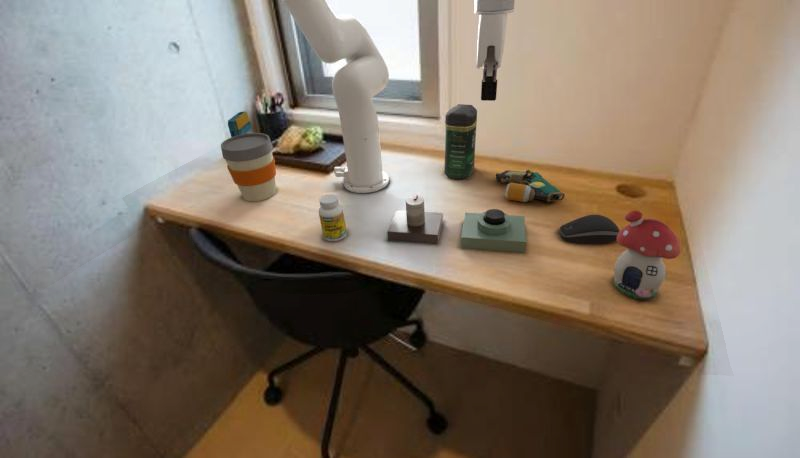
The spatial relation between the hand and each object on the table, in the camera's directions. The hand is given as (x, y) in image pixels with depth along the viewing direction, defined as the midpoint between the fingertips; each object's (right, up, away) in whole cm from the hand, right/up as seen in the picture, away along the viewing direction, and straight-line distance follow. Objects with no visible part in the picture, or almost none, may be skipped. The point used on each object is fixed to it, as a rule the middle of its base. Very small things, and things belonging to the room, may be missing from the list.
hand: (488, 99), depth 90 cm
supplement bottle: (-34, -30, +4) cm, 45 cm away
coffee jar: (-2, -12, +28) cm, 30 cm away
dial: (-16, -27, +2) cm, 31 cm away
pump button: (+1, -26, -2) cm, 27 cm away
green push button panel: (+1, -30, 0) cm, 30 cm away
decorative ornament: (+23, -39, -15) cm, 47 cm away
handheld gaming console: (-66, -7, +42) cm, 79 cm away
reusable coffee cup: (-58, -19, +24) cm, 65 cm away
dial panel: (-16, -29, +4) cm, 33 cm away
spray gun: (+13, -18, +17) cm, 28 cm away
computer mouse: (+21, -30, -1) cm, 37 cm away
